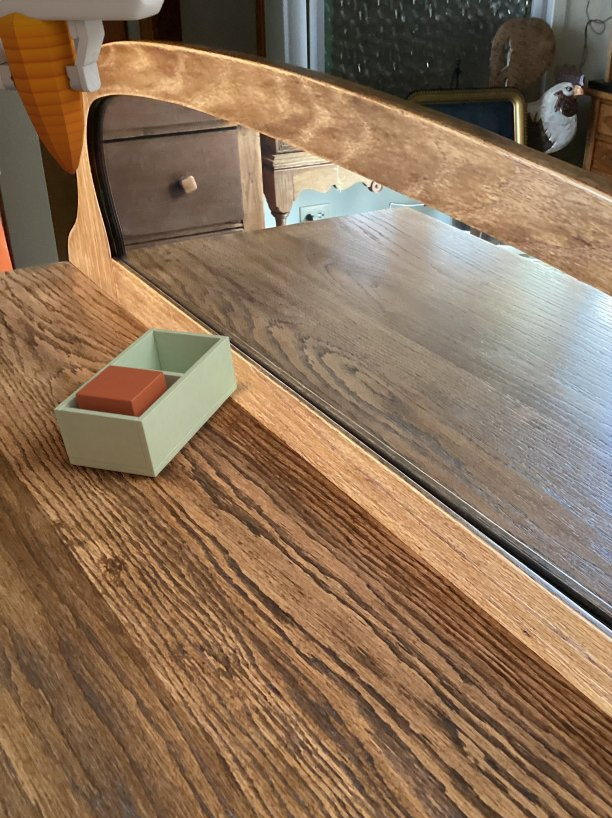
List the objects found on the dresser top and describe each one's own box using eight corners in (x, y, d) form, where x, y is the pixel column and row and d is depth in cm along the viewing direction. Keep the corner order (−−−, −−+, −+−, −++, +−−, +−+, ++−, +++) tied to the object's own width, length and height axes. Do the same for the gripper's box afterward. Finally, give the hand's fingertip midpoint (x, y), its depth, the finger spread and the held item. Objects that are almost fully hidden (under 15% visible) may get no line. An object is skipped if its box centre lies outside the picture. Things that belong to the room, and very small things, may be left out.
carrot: (113, 174, 68) (59, -60, 59) (48, 187, 66) (-18, -53, 57) (94, 160, 72) (40, -63, 63) (32, 172, 70) (-34, -57, 61)
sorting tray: (70, 464, 65) (53, 409, 62) (161, 378, 75) (150, 327, 72) (155, 477, 63) (141, 421, 60) (237, 388, 73) (229, 336, 70)
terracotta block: (90, 448, 65) (74, 393, 62) (123, 417, 68) (109, 364, 66) (145, 456, 64) (131, 401, 61) (175, 425, 67) (163, 371, 64)
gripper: (157, -157, 57) (197, 83, 65) (-104, -141, 62) (-36, 78, 70) (104, -155, 52) (154, 103, 60) (-174, -139, 57) (-92, 97, 66)
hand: (50, 90), depth 65 cm, fingers closed on carrot, 5 cm apart
